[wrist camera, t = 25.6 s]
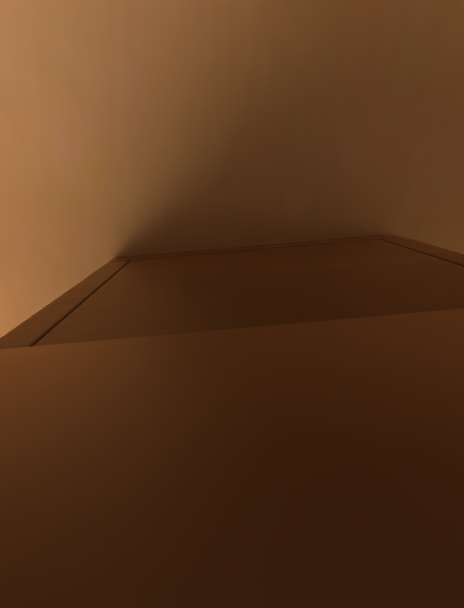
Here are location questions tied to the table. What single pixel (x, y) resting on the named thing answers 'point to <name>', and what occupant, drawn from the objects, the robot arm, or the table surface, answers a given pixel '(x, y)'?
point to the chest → (249, 290)
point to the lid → (237, 468)
